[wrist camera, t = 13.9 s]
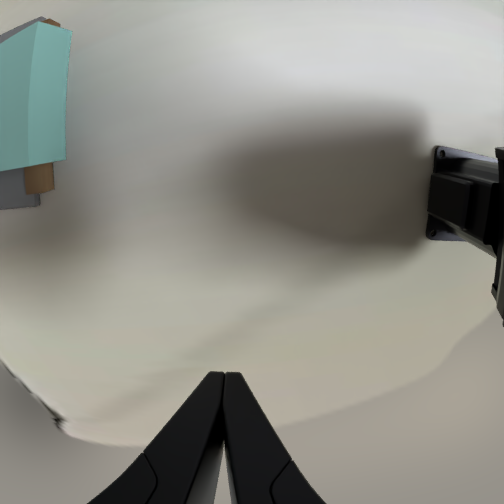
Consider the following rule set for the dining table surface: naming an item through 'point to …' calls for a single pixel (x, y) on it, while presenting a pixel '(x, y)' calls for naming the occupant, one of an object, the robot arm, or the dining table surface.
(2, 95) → the slab
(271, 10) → the dining table surface
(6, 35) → the mat
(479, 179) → the robot arm
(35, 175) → the wooden block
